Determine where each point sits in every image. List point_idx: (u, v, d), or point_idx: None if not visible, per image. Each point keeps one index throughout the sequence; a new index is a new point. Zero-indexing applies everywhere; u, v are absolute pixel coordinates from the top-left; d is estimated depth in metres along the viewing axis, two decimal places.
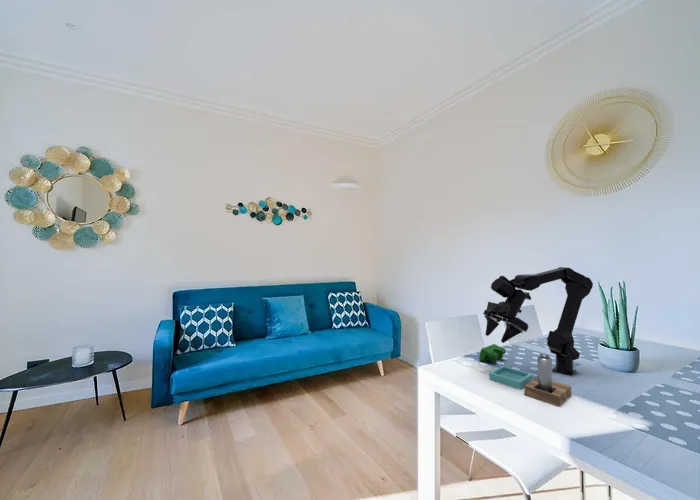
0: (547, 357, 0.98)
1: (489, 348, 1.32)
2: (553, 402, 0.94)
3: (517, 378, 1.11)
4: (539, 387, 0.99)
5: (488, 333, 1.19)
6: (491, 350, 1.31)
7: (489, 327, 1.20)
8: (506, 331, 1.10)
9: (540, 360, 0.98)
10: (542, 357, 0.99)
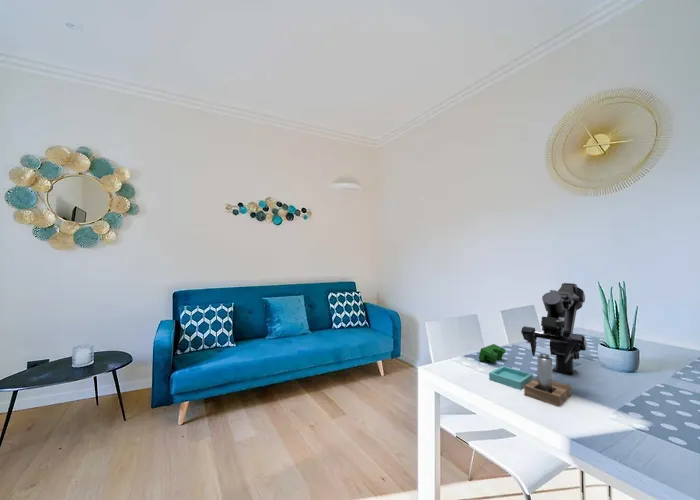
0: (547, 357, 0.98)
1: (489, 348, 1.32)
2: (553, 402, 0.94)
3: (517, 378, 1.11)
4: (539, 387, 0.99)
5: (534, 353, 1.06)
6: (491, 349, 1.31)
7: (534, 346, 1.07)
8: (569, 349, 1.00)
9: (540, 360, 0.98)
10: (542, 357, 0.99)
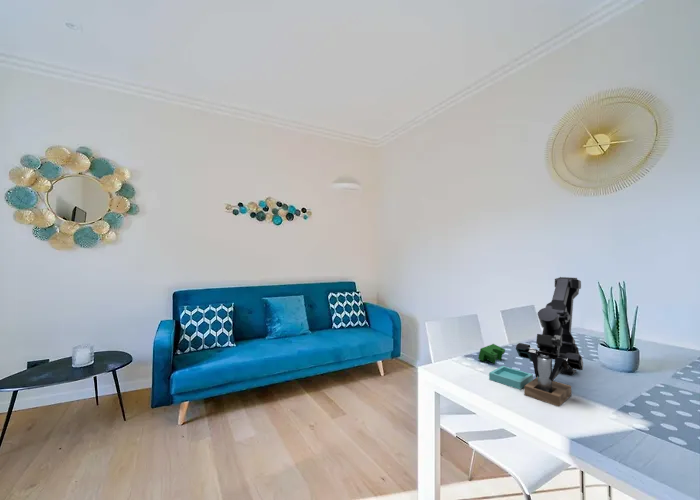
0: (547, 357, 0.98)
1: (488, 348, 1.32)
2: (553, 402, 0.94)
3: (517, 378, 1.11)
4: (539, 387, 0.99)
5: (537, 374, 1.00)
6: (490, 349, 1.32)
7: (537, 366, 1.01)
8: (556, 367, 0.97)
9: (540, 360, 0.98)
10: (542, 357, 0.99)
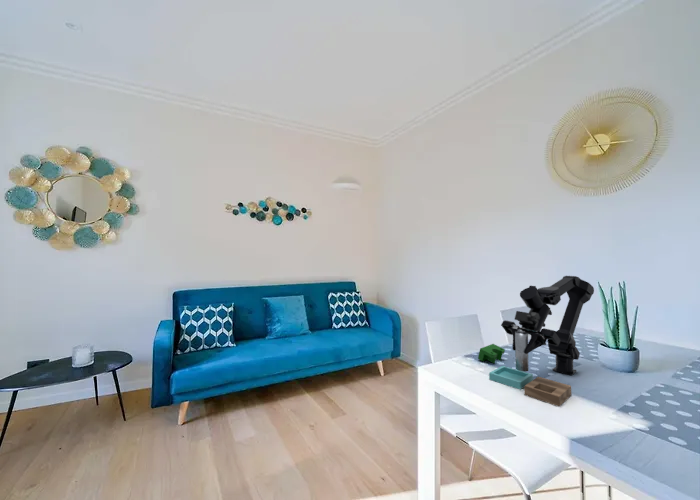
0: (522, 332, 1.06)
1: (488, 348, 1.33)
2: (553, 402, 0.94)
3: (517, 378, 1.11)
4: (516, 359, 1.07)
5: None
6: (490, 349, 1.32)
7: None
8: (531, 342, 1.04)
9: (516, 334, 1.07)
10: (518, 332, 1.07)
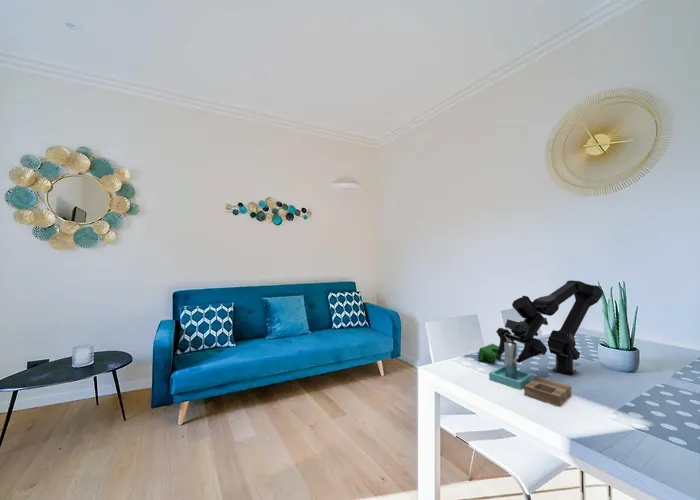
0: (511, 342, 1.11)
1: (488, 348, 1.33)
2: (553, 402, 0.94)
3: (517, 378, 1.11)
4: None
5: (500, 352, 1.16)
6: (490, 349, 1.32)
7: (502, 346, 1.17)
8: (523, 351, 1.07)
9: (504, 344, 1.13)
10: (507, 341, 1.13)
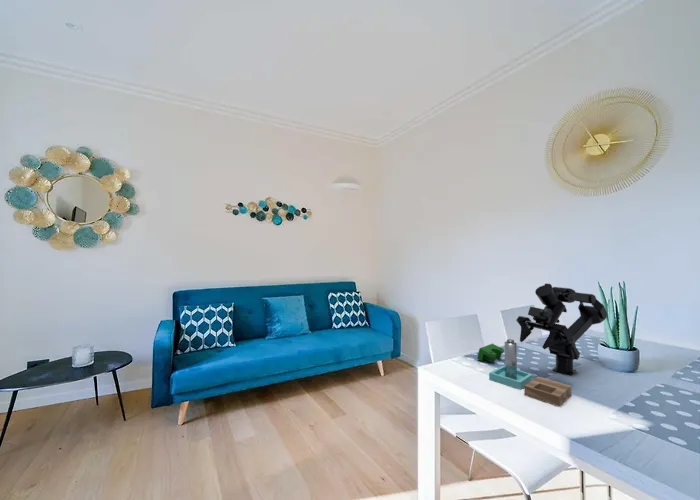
0: (511, 342, 1.11)
1: (487, 348, 1.33)
2: (553, 402, 0.94)
3: (517, 378, 1.11)
4: None
5: (522, 339, 1.17)
6: (489, 349, 1.32)
7: (524, 333, 1.18)
8: (549, 337, 1.08)
9: None
10: (507, 341, 1.12)
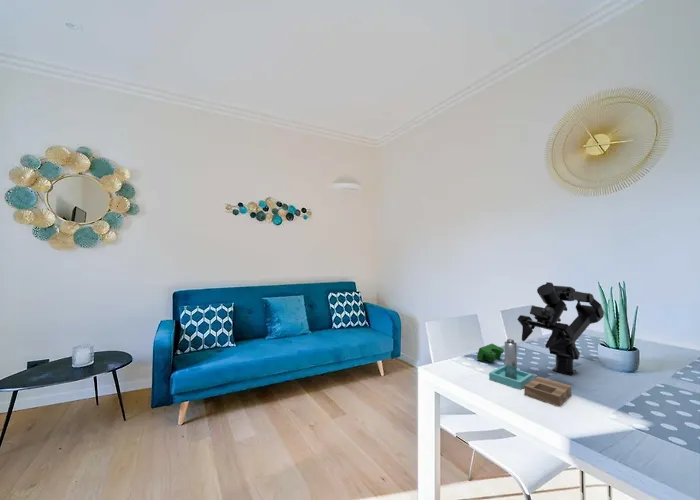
0: (511, 342, 1.11)
1: (487, 348, 1.33)
2: (553, 402, 0.94)
3: (517, 378, 1.11)
4: None
5: (524, 338, 1.17)
6: (489, 349, 1.32)
7: (525, 333, 1.17)
8: (552, 336, 1.08)
9: None
10: (507, 341, 1.12)
